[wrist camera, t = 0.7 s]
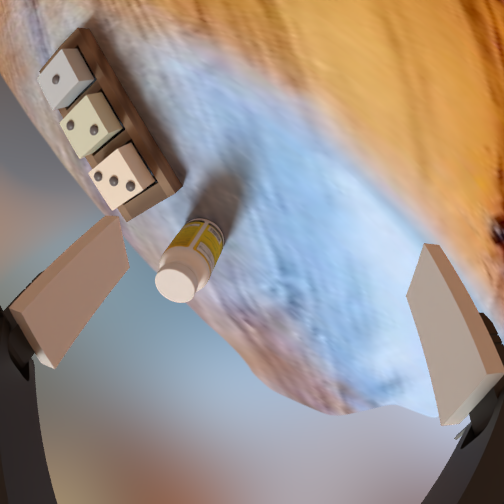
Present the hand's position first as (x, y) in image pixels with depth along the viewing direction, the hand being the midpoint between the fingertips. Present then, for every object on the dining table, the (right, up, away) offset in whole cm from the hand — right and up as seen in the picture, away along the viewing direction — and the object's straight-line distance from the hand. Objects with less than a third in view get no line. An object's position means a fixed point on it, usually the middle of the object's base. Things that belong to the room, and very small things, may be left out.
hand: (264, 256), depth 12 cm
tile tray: (-20, +18, +22) cm, 34 cm away
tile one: (-24, +23, +17) cm, 37 cm away
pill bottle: (-7, +2, +29) cm, 30 cm away
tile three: (-16, +10, +23) cm, 30 cm away
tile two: (-20, +16, +20) cm, 33 cm away
